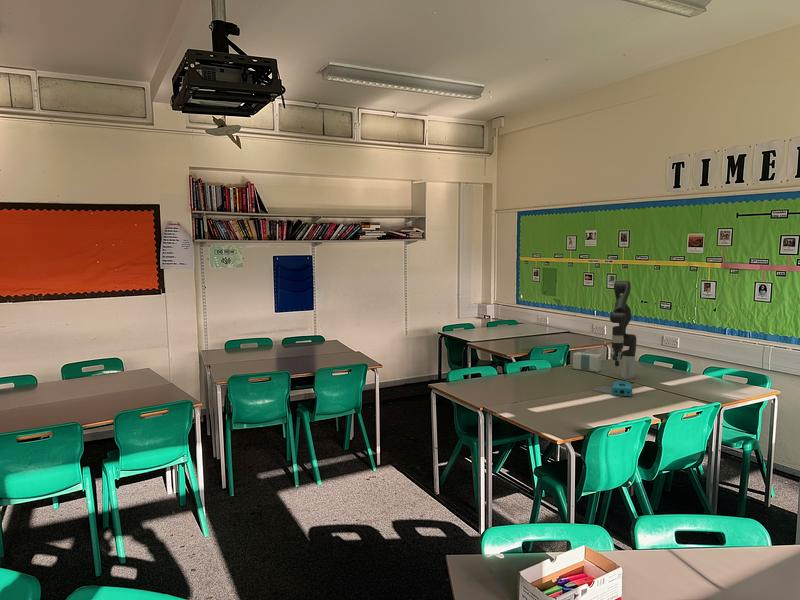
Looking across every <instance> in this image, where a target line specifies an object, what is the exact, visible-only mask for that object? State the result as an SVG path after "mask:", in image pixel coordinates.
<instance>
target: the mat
mask: <svg viewBox="0 0 800 600" xmlns="http://www.w3.org/2000/svg"><path fill="white" fill-rule="evenodd" d="M612 389H613V386H607V385H603V386H599V387H596V388H592V389H591V391H594V392H598V393H602V394H606V395H611V396H617V395H613V394H612Z"/></svg>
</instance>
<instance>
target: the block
mask: <svg viewBox="0 0 800 600" xmlns="http://www.w3.org/2000/svg"><path fill="white" fill-rule="evenodd" d="M612 387H613V389H612V394H613V395H612V396H614V395H616V396H621V397H632V396H633V385H632V384H631V383H630V382H629V381H628V380H627V381H626V380H625V381H624V380H616V381H614V382H613V383H612Z"/></svg>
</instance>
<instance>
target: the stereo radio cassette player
mask: <svg viewBox="0 0 800 600" xmlns="http://www.w3.org/2000/svg"><path fill="white" fill-rule="evenodd" d="M598 347H599V348H600V346H598ZM595 349H596V347H594V348H591V349H589V350H587V351H584V352H579V351H577V352H576V351H575V352H574V353H572V368H573V369H574V370H580V371H588V372H596V373H599V372H600V371H601V370H602V369H601V368H602V354H597V353H589V351H593V350H595ZM587 352H588V353H587Z"/></svg>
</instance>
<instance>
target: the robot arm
mask: <svg viewBox="0 0 800 600" xmlns="http://www.w3.org/2000/svg"><path fill="white" fill-rule="evenodd" d="M631 286H632V285H631V282H630V280H615V281H614V283H613V290H614V297H615V303H614V308H613V310H612V312H611V313H610V315H609V321H610V322H611V323H614V324H618V325H616V326H613V327H612V332H611V333H612V334H611V348H612V353H610V356H611V358H612V361H614V365H615V367H619V366H620V361H621V379H625V380H635V379H636V352H637V336H636V335H635V334H631V333H627V332H626V330H627V327H628V325H629V323H630V322H631V320H632V310H631V307H630V306H629V305H628V304H627V301H628V299H629V296H630V293H631V289H632V288H631ZM624 347H628V349H626V350H623V349H624Z"/></svg>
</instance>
